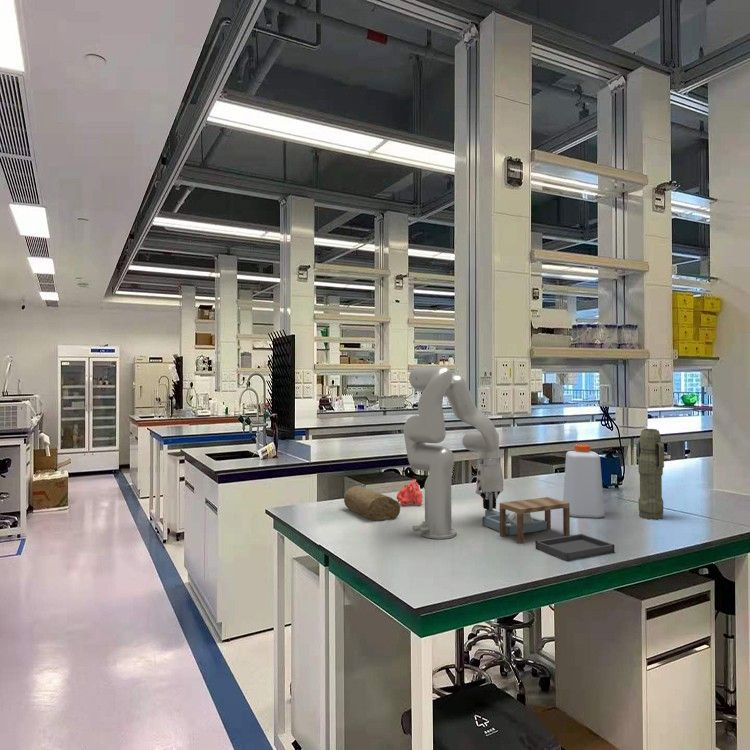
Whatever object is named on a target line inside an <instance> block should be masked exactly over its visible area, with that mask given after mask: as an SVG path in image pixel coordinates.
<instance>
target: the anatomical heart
mask: <svg viewBox="0 0 750 750" xmlns="http://www.w3.org/2000/svg"><path fill="white" fill-rule="evenodd" d="M423 497H424V496H423V492H422V491H421V490H420V485H419V483H418V482H417V479H412V480H411V481H410V483H409V484H408V483H406V484H404V487H403V488H401V489H399V491H398V493H397V494H396V501H397V502H399V504H400V506H409V505H410V504H413V505H415V504H417V506H418V507H420V506H422V505H423Z"/></svg>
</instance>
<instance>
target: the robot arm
mask: <svg viewBox="0 0 750 750" xmlns="http://www.w3.org/2000/svg"><path fill="white" fill-rule="evenodd" d="M408 381H409V384H410V386H411V387H412V388H413V390H415V391H417V392H421V394H420V395H419V398H418V402H417V410H418V415H413V416H410V417H408V418H407V419H406V421H405V423H404V427H403V438H404V443H405V448H406V457H407V460H408V463H409V465H410V467H412V468H413V469H415V470H418V471H423V472H424V471H425V472H427V473H428V472H429V474H428V475H427V478H426V480H425V482H424V521H421V524H420V525H419V524H418V525H413V526H412V531H413V532H420V535H421V536H422V537H425V538H427V539H432V540H433V539H434V540H447V539H451V538H454V537H456V536H457V532H456V530H455V529H453V527H452V525H453V524H452V517H453V516H452V476H453V471H454V465H455V456H454V453H453V451H452V450H451V449H450V448H449V447H446V446H442V445H434V444H440V443H442V442H443V441H444V440H445V438H446V424H445V418H444V412H443V400H444V399H443V398H447V400H448V402H449V404H450V407H451V410H452V412H453V414H454V416H455V418H457V419H459V420H460V421H462V422H464V423H466V424H467V425H470V426H472V427H473V428H475V429H476V430H477V431H468V432H466V433H465V434H464V435H463V437H462V439H461V443H462V445H463V448H465V449H466V450H468V451H472V452H479V459H478V460H477V464H479V465H478V466H477V473H476V488H475V494H477V495H479V496H480V497H481V499H482V506H483V509H484V510H489V499H488V492H492V493H493V510H496V509H497V499H498V496H499V495H500V494H501V493H503V491H504V474H503V468H502V466H501V464H500V433H499V432H498V431H497V429H496V426H495V425H494V423H493V422H492V420H491V419H490V418H489V417H488V416H487V415H486V414H485V413H484V412H482V411H481V410H480V409H479V408H477V406H476V405H475V402H474V399H473V397H472V394H471V392H470V389H469V387H468V383H467V381H466V380H465V378H464V377H463V376H462V375H460V374H453V373H452V371H451V369H449V368H448V367H445V366H437V365H435V366H418V367H415V368H413V369H412V370H411V371H410V372H409V375H408Z"/></svg>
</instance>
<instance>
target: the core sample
mask: <svg viewBox="0 0 750 750" xmlns="http://www.w3.org/2000/svg"><path fill="white" fill-rule="evenodd" d="M343 503H344V505H345V507H346V508H348V509H349V510H351V511H353V512H354V513H356V514H359V515H361V516H363V517H366V518H367V519H370V520H372V521H376V522H381V521H382V522H383V521H392V520H394V519H396V518H397V517H398V516H399V515H400V513H401V504H400V501H399V502H398V500H397V499H395V498H393V497H391V496H388V495H385V494H382V493H380V492H377V491H375V490H373V489H370V488H368V487H364V486H361V485H355V486H351V487H350V488H348V489H347V490H346V491H345V493H344V495H343Z"/></svg>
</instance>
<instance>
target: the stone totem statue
mask: <svg viewBox="0 0 750 750" xmlns="http://www.w3.org/2000/svg"><path fill="white" fill-rule="evenodd" d="M636 451H637V452H636V453H637V454H636V455H637V464H638V474H639V497H638V513H639V514H638V517H639V516H640V517H639V518H641V517H642V518H641V519H644V518H647V519H646V520H650V519H656V520H655V521H659V520H658V519H661V520H663V519H664V516H663V514H664V500H663V496H662V495H663V491H662V490H663V488H662V485H663V484H662V483H663V482H662V477H663V475H664V467H665V445H664V443H663V442H662V437H661V434H660V430H659V429H656V428H644V429H642V430H641V432H640V435H639V440H638V441H637V450H636Z"/></svg>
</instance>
